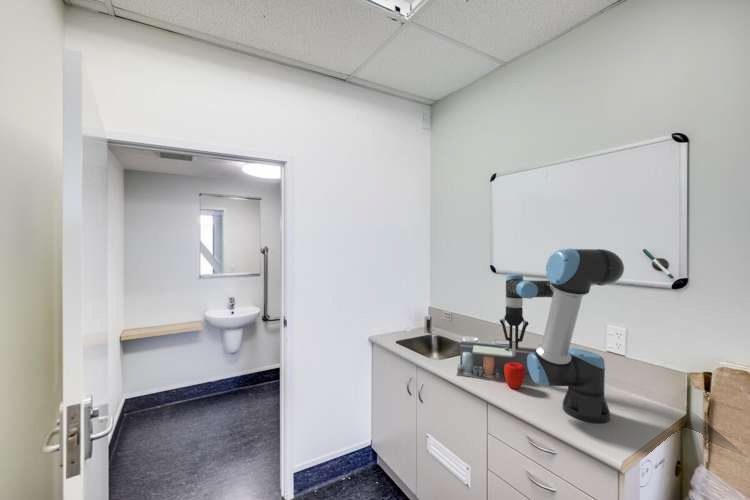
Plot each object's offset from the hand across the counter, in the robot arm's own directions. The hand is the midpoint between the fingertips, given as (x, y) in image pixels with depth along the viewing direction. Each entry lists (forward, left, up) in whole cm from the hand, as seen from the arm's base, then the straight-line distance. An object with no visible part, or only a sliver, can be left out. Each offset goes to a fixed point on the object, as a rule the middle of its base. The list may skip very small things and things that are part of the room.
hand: (513, 355), depth 156 cm
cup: (+28, +20, -11) cm, 36 cm away
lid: (+2, +10, 0) cm, 10 cm away
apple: (-11, 0, -11) cm, 16 cm away
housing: (+2, +6, -11) cm, 13 cm away
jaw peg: (-1, +11, -10) cm, 15 cm away
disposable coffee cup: (+19, +5, -11) cm, 22 cm away
